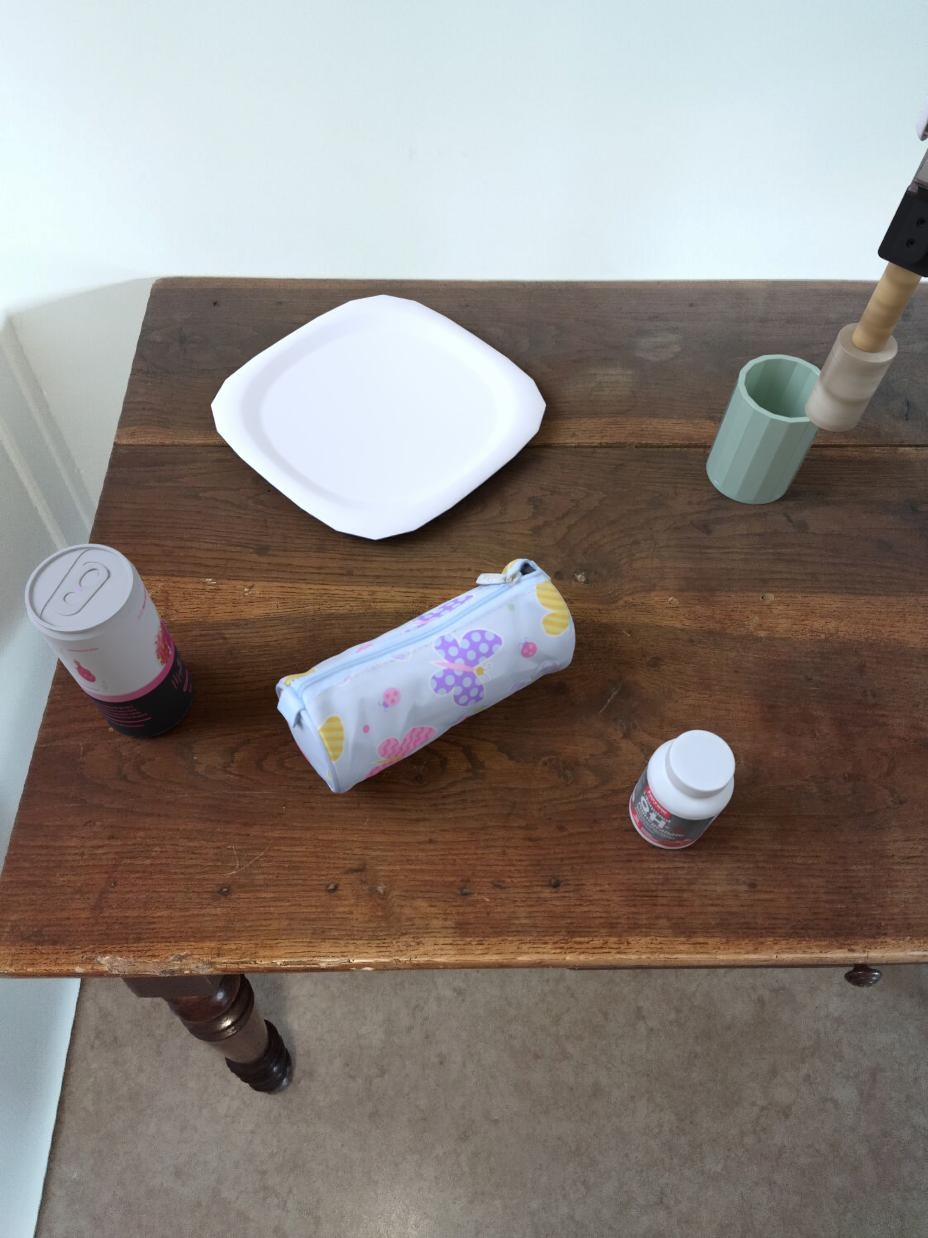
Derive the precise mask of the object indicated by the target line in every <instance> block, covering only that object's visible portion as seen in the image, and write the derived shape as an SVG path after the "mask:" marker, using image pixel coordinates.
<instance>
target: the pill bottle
mask: <svg viewBox="0 0 928 1238" xmlns="http://www.w3.org/2000/svg"><path fill="white" fill-rule="evenodd" d="M735 770H736V760H735V756H734V754H733V751H732V749H731V747H730V746H729V744H728V743H727V742H726V741H725V740H724V739H723V738H722V737H720V736H718V735H717V734H715V733H713V732H711V731H708V730H704V729H703V730H702V729H692V730H688V731H685V732H683V733H681V734H680V735H679V736H677V737H675V738H672V739H670V740H668V741H666V742H664V743H662V744H661V745H660V746H659V747H658V748H657V749H656V750H655V751H654V752H653V754H652V755H651V756H650V758H649V761H648V762H647V764H646V766H645V768H644V770H643V772H642V773H641V775H640V777H639V779H638V781H637V783H636V784H635V786H634V788H633V791H632V793H631V795H630V799H629V804H628V810H629V817H630V819H631V822H632V825H633V827H634V828H635V829H636V831H637V832H638V834H639V835H640V836H641V837H642V838H643V839H644V840H646V842H648V843H649V844H651V845H653V846H656V847H659V848H662V849H666V850H680V849H683V848H687V847H689V846H691V845H692V844H694V843H695V842H696V841H697V840H698V839H699V838H700V837H701V836H702V835H703V834H704V833H705V831H706V830H707V829H708V828H709V827H710V825H711V824H712V823H713V822H714V821H715V819H716V818H717V817H718V816H719V815H720V814H721V812H722V811H723V810H724V809H725V808H726V807H727V805H728V804H729V802H730V800H731V798H732V797H733V796H732V795H733V793H734V788H735V787H734V786H735V778H734V777H735V776H734V774H735Z"/></svg>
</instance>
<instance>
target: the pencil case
mask: <svg viewBox="0 0 928 1238" xmlns="http://www.w3.org/2000/svg"><path fill="white" fill-rule="evenodd" d="M475 584H478V585H479V586H477V587H474V588H472V589H470V590H467V591H466V592H464V593H462V594H460V595H458V596H456V597H454V598H451V599H449V600H447V601H445V602H443V603H440V604H439V605H437V606H436V607H434V608H432V609H430V610H428V611H426V612H424V613H422V614H420V615H418V616H416V617H414V618H413V619H410V620H409V621H407V622H405V623H403V624H402V625H400V626H398V627H396V628H393V629H391V630H389V631H386V632H385V633H383V634H381V635H379V636H378V637H376V638H374V639H372V640H368V641H366V642H362V643H359V644H357V645H353V646H352V647H349V648H347V649H346V650H344V651H342V652H341V653H339V654H336V655H333V656H330V657H329V658H327V659H324V660H323V661H321V662H319V663H318V664H316V665H314V666H313V667H311V668H310V669H309V670H308V671H305V672H302V673H295V674H289V675H286V676H284V677H282V678H280V679H279V681H278V683H277V684H276V686H275V693H276V695H277V698H278V703H277V708H276V709H277V710H278V711H279V713H281V715H282V716H283V717H284V718H285V720H286V722H287V724H288V728H289V730H290V733H291V734H292V736H293V739H294V742H295V743H296V745H297V746H298V748H299V750H300V751H301V753H302V755H303V756H304V758H305V759H306V760H307V761H308V762H309V764H310V765H311V766H312V768H313V769H314V770H315V772H316V773H317V774H318V775H319V776H320V778H322V780H323V781H325V782H326V784H327V786H328V787H329V788H330V790H331V791H332V793H334V794H340V795H341V794H344V793H346V792H348V791H349V790H350V789H352V788H353V787H354V786H355V785H357V784H358V783H360V782H363V781H364V780H366V779H368V778H370V777H373V776H375V775H377V774H379V773H380V772H381V771H383V770H385V769H386V768H388V767H391V766H393V765H394V764H397V763H398V762H400V761H402V760H404V759H405V758H408V757H409V756H411V755H413V754H414V753H416V752H418V751H419V750H420V749H422V748H424V747H425V746H427V745H429V744H430V743H432V742H433V741H435V740H437V739H438V738H439V737H441V736H442V735H443V734H445V733H446V732H447V731H448V730H450V728H452V727H454V726H456V725H459V724H460V723H462V722H463V721H464V720H466V719H467V718H469V717H472V716H474V715H476V714H478V713H480V712H483V711H484V710H486V709H489V708H491V707H492V706H494V705H496V704H497V703H499V702H501V701H503V700H504V699H506V698H508V697H509V696H512V695H513V694H515V693H516V692H518V691H520V690H522V689H523V688H525V687H528V686H529V685H531V684H533V683H534V682H536V681H537V680H538V679H541V677H543V676H545V675H549V674H554V673H557V672H560V671H563V670H565V669H566V668H567V667H569V665H570V664H571V663H572V659H573V656H574V652H575V647H576V630H575V623H574V620H573V617H572V614H571V612H570V609H569V607H568V605H567V603H566V601H565V599H564V598H563V596H562V595H561V593H560V592H559V590H558V589H557V588H556V586H555V585H554V584H553V583H552V578H551V576H549V575H548V574H547V573H546V572H545V571H544V570H543V569H542V568H541V567H540V566H539V565H538V564H537V563H536V562H535V561H534V560H530V559H528V558H516V559H514V560H512V561H510V562H509V563H508V564H507V565H505V567H504V568H503V570H502V571H501V573H492V572H491V573H488V572H487V573H480V574H479V576H478V577H477V579H476V581H475Z"/></svg>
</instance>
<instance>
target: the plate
mask: <svg viewBox="0 0 928 1238" xmlns="http://www.w3.org/2000/svg"><path fill="white" fill-rule="evenodd" d="M210 407H211V411H212V415H213V419H214V424H215V428H216V432H217V434H218V435H219V436H220V437H221V438H222V439H223V440H224V441H225V443H226V444H227V445H228V446H229V447H230V448H231V449H232V451H233V452H234V453H235V454H236V455H237V456H238V457H239V458H240V460H242V461H243V462H244V463H245V464H247V466H248V467H250V468H251V469H252V470H254V471H255V472H256V474H258V475H259V476H260V477H262V478H263V479H264V480H265V481H266V482H267V483H268V484H270V485H271V486H272V487H273V488H274V489H276V490H277V492H279V493H281V494H282V495H283V496H284V497H286V498H287V499H288V500H289V501H291V502H292V503H293V504H294V505H295V506H296V507H298V508H299V509H301V510H302V511H303V512H305V513H306V514H308V515H309V516H311V517H313V518H314V519H316V520H317V521H319V522H321V523H322V524H324V525H326V526H327V527H328V528H329V529H331V530H333V531H334V532H337V533H340V534H346V535H348V536H353V537H358V538H362V539H366V540H370V541H375V542H377V541H381V540H384V539H390V538H393V537H397V536H401V535H405V534H410V533H414V532H416V531H418V530H419V529H421V528H422V527H424V526H426V525H427V524H429V523H431V522H432V521H433V520H435V519H437V518H439V517H440V516H442V515H443V514H445V513H447V512H449V511H450V510H451V509H453V508H454V507H455V506H456V505H458V504H459V503H460V502H461V501H462V500H464V499H465V498H466V497H468V496H469V495H470V494H472V493H473V492H474V491H476V490H477V489H478V488H479V487H481V486H482V485H483V484H485V483H486V482H487V481H488V480H489V479H490V478H492V477H493V476H494V475H496V473H497V472H499V471H500V470H502V468H504V467H505V466H506V465H507V464H509V463H510V462H511V461H512V460H513V459H515V457H517V455H518V454H519V453H521V451H522V450H523V449H524V448H525V447H526V446H527V445H528V444H529V442H530V441H532V439H533V438H534V437H536V436H537V434H538V433H539V430H540V427H541V424H542V421H543V417H544V414H545V411H546V407H547V404H546V402H545V400H544V398H543V396H542V394H541V391H540V390H539V388H538V386H537V383H536V382H535V381H534V379H533V378H532V377H531V376H529V375H528V374H527V373H526V372H524V370H523V369H521V368H520V367H519V366H518V365H517V364H515V363H514V362H513V361H512V360H511V359H509V358H508V357H507V356H505V355H504V354H502V353H501V352H500V351H498V350H497V349H495V348H494V347H493V346H491V345H489V344H488V343H486V342H485V341H484V340H482V339H481V338H479V337H478V336H476V335H475V334H473V333H472V332H470V331H468V330H467V329H466V328H464V327H463V326H461V325H459V324H458V323H456V322H455V321H453V320H452V319H451V318H449V317H447V316H445V315H444V314H441V313H439V312H437V311H435V310H434V309H431V308H430V307H428V306H426V305H424V304H422V303H420V302H418V301H416V300H412V299H407V298H403V297H397V296H393V295H388V294H380V295H379V294H378V295H374V296H369V297H362V298H357V299H353V300H349V301H348V302H347V301H346V302H345V303H343V304H341V305H339V306H337V307H335V308H333V309H330V310H329V311H326V312H325V313H323V314H320V315H319V316H317V317H315V318H314V319H312V320H310V321H309V322H307V323H305V324H304V325H302V326H301V327H299V328H297V329H295V330H293V332H291V333H290V334H288V335H286V336H285V337H283V338H281V339H280V340H278V341H276V342H275V343H273V344H272V345H270V346H269V347H267V348H266V349H264V350H262V351H261V352H260V353H258V354H256V355H255V356H253V357H252V358H250V360H248V361H247V362H245V364H244V365H242V366H241V367H240V368H238V369H237V370H236V371H234V373H232V374H231V375H229V377H227V378H226V379H225V380H224V382H223V384H222V385H221V387H220V388H219V390H218V392H217V393H216V396H215V398H214V399H213V400H212V402H211V404H210Z"/></svg>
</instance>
